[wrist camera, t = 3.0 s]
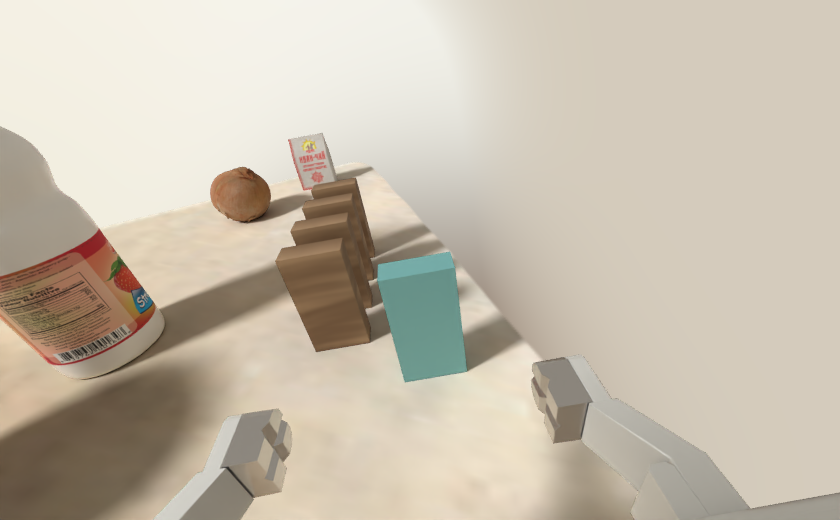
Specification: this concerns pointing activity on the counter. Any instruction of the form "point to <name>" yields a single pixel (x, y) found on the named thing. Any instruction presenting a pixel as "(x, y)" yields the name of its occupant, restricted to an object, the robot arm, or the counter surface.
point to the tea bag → (312, 160)
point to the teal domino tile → (424, 315)
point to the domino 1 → (352, 187)
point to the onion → (240, 194)
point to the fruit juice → (64, 274)
